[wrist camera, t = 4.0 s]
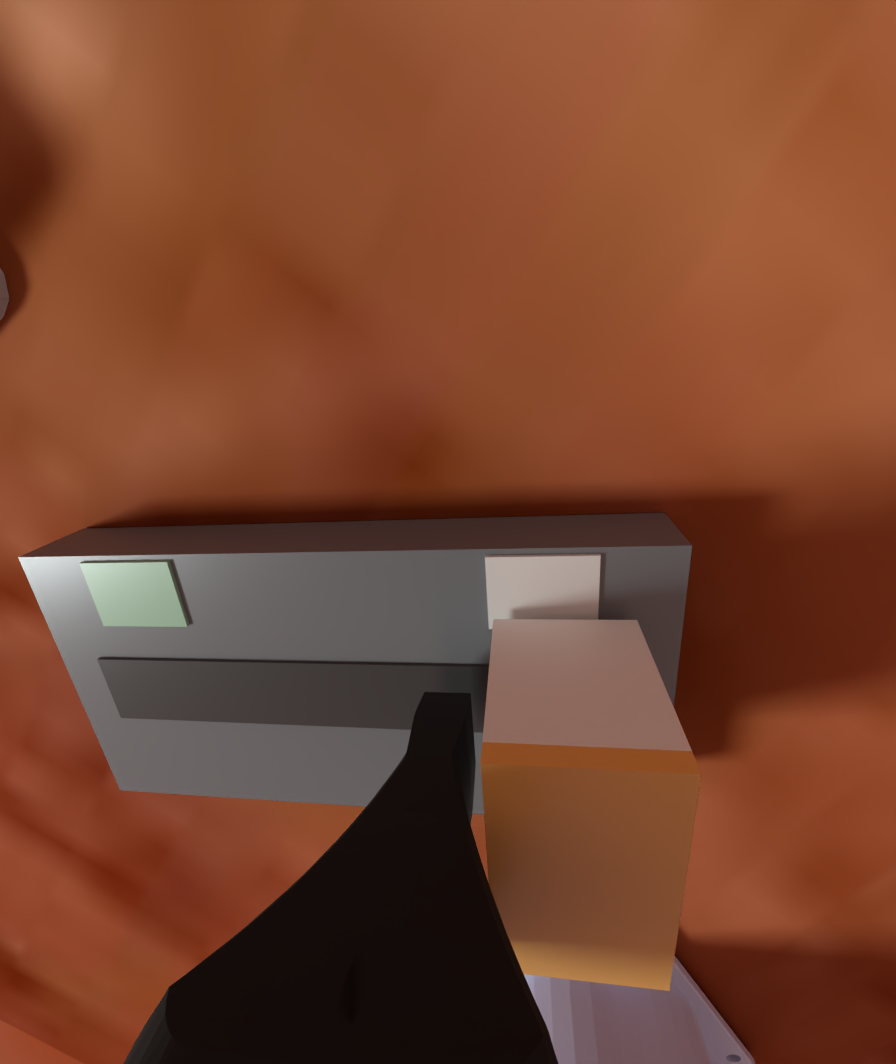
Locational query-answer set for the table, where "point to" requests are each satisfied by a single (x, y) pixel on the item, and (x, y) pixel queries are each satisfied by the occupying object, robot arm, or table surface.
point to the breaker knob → (586, 801)
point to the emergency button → (3, 294)
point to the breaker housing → (325, 636)
